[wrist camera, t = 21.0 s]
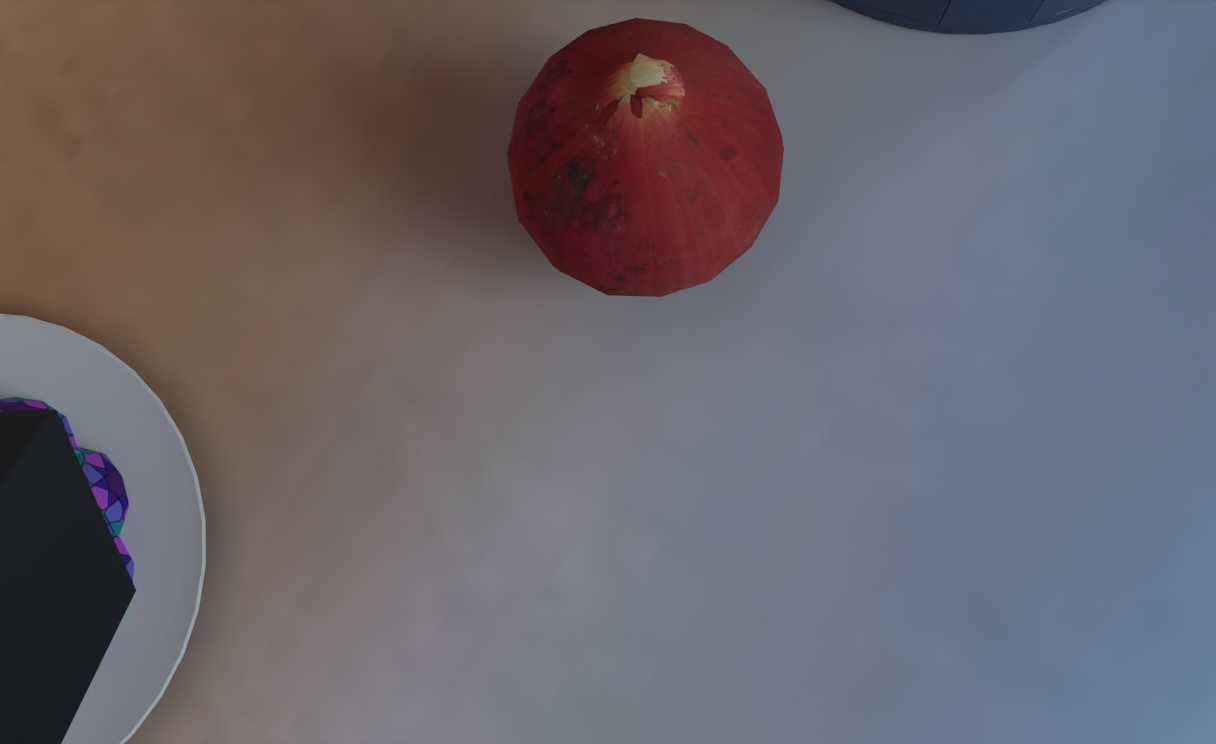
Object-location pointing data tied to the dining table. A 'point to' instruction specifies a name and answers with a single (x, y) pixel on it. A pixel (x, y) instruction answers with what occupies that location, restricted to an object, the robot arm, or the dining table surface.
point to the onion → (644, 158)
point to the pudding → (120, 508)
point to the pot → (970, 13)
